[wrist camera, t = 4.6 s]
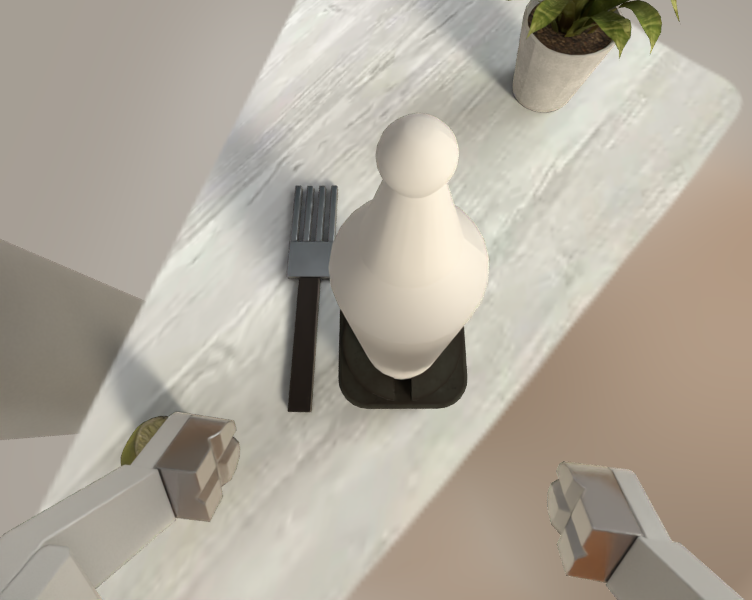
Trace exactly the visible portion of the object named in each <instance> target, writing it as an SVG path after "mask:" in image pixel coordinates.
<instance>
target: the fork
mask: <svg viewBox="0 0 752 600" xmlns="http://www.w3.org/2000/svg"><path fill="white" fill-rule="evenodd" d="M314 192H315V189H314V187H313V186H308V187H307V198H306V210H305V222H304V234H303V241H298V240H299V229H300V217H301V206H302V195H303V189H302V186H296V188H295V198H294V209H293V219H292V230H291V240H290V245H289V255H288V266H287V278H288V279H299V285H298V297H297V308H296V320H295V332H294V343H293V355H292V367H291V378H290V390H289V402H288V412H311V411H312V399H313V384H314V370H315V355H316V341H317V327H318V312H319V298H320V283H321V279H330V275H329V261H330V255H331V250H332V244H333V242H334V240H335V235H336V219H337V202H338V187H337V186H331V200H330V216H329V231H328V241H323V232H324V217H325V203H326V187H325V186H319V199H318V212H317V225H316V239H315V241H311V229H312V217H313V204H314Z"/></svg>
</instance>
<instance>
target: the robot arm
mask: <svg viewBox="0 0 752 600" xmlns="http://www.w3.org/2000/svg"><path fill="white" fill-rule="evenodd" d="M235 432H236V426H235V422H234V421H233V420H228V419H222V418H215V417H209V416H202V415H196V414H188V413H181V412H175V413H173V414H172V415H170V416H169V417H168V418H167V420H166V421H165V422H164V423H163V425H162V426H161V427H160V428H159V430H158V431H157V432H156V433H155V435H154V436H153V437H152V438H151V440H150V441H149V442H148V443H147V445H146V446H145V447H144V448H143V450H142V451H141V452H140V454H139V455H138V456H137V457H136V459H135V460H134V461H133V462H132V464H131V465H123V466H121V467H119V468H118V469H116V470H114V471H112V472H111V473H109V474H107V475H105V476H104V477H102V478H100V479H98V480H97V481H95V482H93V483H91V484H90V485H88V486H86V487H85V488H83V489H81V490H79V491H78V492H76V493H74V494H72V495H71V496H69V497H67V498H65V499H64V500H62V501H60V502H58V503H57V504H55V505H53V506H51V507H50V508H48V509H46V510H44V511H43V512H41V513H39V514H38V515H36V516H34V517H32V518H31V519H29V520H27V521H25V522H24V523H22V524H20V525H18V526H17V527H15V528H13V529H11V530H10V531H8V532H7V533H5V534H3V535H2V536H1V537H0V600H102V598H101V597H100V595H99V594H98V592H97V591H96V588H97V587H99V586H100V585H101V584H102V583H103V582H104V581H106V580H107V579H108V578H109V577H110V576H111V575H113V574H114V573H115V572H116V571H117V570H118V569H120V568H121V567H122V566H123V565H124V564H125V563H127V562H128V561H129V560H130V559H131V558H132V557H134V556H135V555H136V554H137V553H138V552H139V551H141V550H142V549H143V548H144V547H145V546H146V545H148V544H149V543H150V542H151V541H152V540H153V539H155V538H156V537H157V536H158V535H159V534H160V533H162V532H163V531H164V530H165V529H166V528H167V527H169V526H170V525H171V524H172V523H173V522H174V521H176V518H181V519H189V520H198V521H206V522H210V521H211V519H212V517H213V515H214V513H215V511H216V509H217V507H218V505H219V503H220V501H221V499H222V497H223V493H222V488H221V487H222V486H223V485H225V484H226V483H227V482H229V481H230V480H231V479H232V477H233V475H234V473H235V471H236V469H237V465H238V461H239V458H240V446H239V442H238V441H237V440H236V439H235V438H234V437H233V435H234V434H235ZM556 472H557V475H558V478H559V479H558V480H556V481H554V482H552V483H551V485H550V488H549V490H548V497H547V507H548V514H549V518H550V521H551V525H552V526H553V527H554V528H555V529H556V530H557V531H558V532H559V533H560V535H561V536H560V539H559V541H558V543H557V546H558V550H559V553H560V556H561V560H562V563H563V567H564V570H565V574H566V576H571V577H576V578H582V579H588V580H593V581H599V582H604V583H606V586H607V587H608V589H609V590H610V591H611V593H612V594H613V595H614V597H615V598H616V599H617V600H744V599H743V598H742V597H741V596H740V595H739V594H737V593H736V592H735V591H734V590H733V589H732V588H731V587H729V586H728V585H727V584H726V583H725V582H724V581H723V580H722V579H720V578H719V577H718V576H717V575H716V574H715V573H714V572H712V571H711V570H710V569H709V568H708V567H707V566H706V565H704V564H703V563H702V562H701V561H700V560H699V559H698V558H696V557H695V556H694V555H693V554H692V553H691V552H690V551H689V550H687V549H686V548H685V547H684V546H683V545H682V544H681V543H679V542H673V541H672V540H671V538H670V537H669V535H668V533H667V531H666V529H665V528H664V526H663V524H662V522H661V520H660V518H659V516H658V515H657V513H656V511H655V509H654V507H653V506H652V504H651V502H650V500H649V498H648V496H647V494H646V493H645V491H644V489H643V487H642V485H641V484H640V482H639V480H638V479H637V477H636V475H635V473H633V472H632V471H631V470H628V469H620V468H612V467H605V466H598V465H589V464H581V463H572V462H562V463H560V464H559V466H558V468H557V471H556Z"/></svg>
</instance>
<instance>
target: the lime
mask: <svg viewBox="0 0 752 600" xmlns="http://www.w3.org/2000/svg"><path fill="white" fill-rule="evenodd" d="M167 418H168V416H158V417H155V418H151V419H150V420H148V421H146V422H143V423H142V424H141V425H139V426H138V427H137V428H136V430H135V431H134V432H133V434H132V435H131V437H130V438H129V440H128V442H127V444H126V445H125V448H124V449H123V452H122V455H121V466H123V465H131V464H132V462H133V461H134V460H135V459H136V457H137V456H138V455H139V454H140V452H141V451H142V450H143V448H144V447H145V446H146V445H147V443H148V442H149V441H150V440H151V438H152V437H153V436H154V435H155V433H156V432H157V431H158V430H159V428H160V427H161V426H162V425H163V423H164V422H165V421H166V420H167Z"/></svg>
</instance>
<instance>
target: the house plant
mask: <svg viewBox="0 0 752 600" xmlns="http://www.w3.org/2000/svg"><path fill="white" fill-rule="evenodd" d="M506 1H509V0H506ZM627 1H629V0H531V1H530V2H529V3H528V5H527V6H526V9H525V12H524V16H523V22H522V28H521V34H520V40H519V47H518V53H517V59H516V65H515V72H514V78H513V84H512V88H513V93H514V96H515V98H516V99H517V100H518V102H519V103H520V104H522V105H523V106H524V107H526V108H528V109H530V110H533V111H537V112H551V111H555V110H557V109H560V108H562V107H563V106H564V105H565V104H566V103H568V101H569V100H570V99H571V98H572V96H573V95H574V94H575V93H576V92H577V90H578V89H579V88H580V87H581V85H582V84H583V83H584V82H585V81H586V79H587V78H588V77H589V76H590V74H591V73H592V72H593V71H594V70H595V68H596V67H597V66H598V65H599V64H600V62H601V61H602V60H603V59H604V57H605V56H606V55H607V54H608V53H609V51H610V50H611V49H612V48H613V46H614V45H615V44H616V46H617V48H618V50H619V59H620V56H621V53H622V50H623V48H624V47H625V45H626V43H627V41H628V40H629V39H630V36H631V22H630V20H629V19H625V18H624V17H623V16H622V13H621V11H620V10H619V8H621V7H626V8H629V9H631V10H632V11H633V12H634V14H635V15H636V17H637V18H638V20H639V22H640V24H641V26H642V28H643V29H644V31H645V33H646V34H647V36H648V37H649V39H650V44H651V51H652V49H653V47H654V45H655V43H656V41H657V39H658V37H659V35H660V33H661V26H662V22H661V16H660V15H659V13H658V11H657V10H656V9H655V8H653V7H652V6H651V5H650V4H648V3H647V2H644V1H640V0H636V1H630V2H627ZM671 2H672V5H673V8H674V11H675V13H676V16H677V18H678V21H679V16H678V11H677V5H676V0H671ZM622 3H623V4H622ZM620 4H622V5H620ZM618 5H620V6H619V7H618ZM651 51H650V54H651Z"/></svg>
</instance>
